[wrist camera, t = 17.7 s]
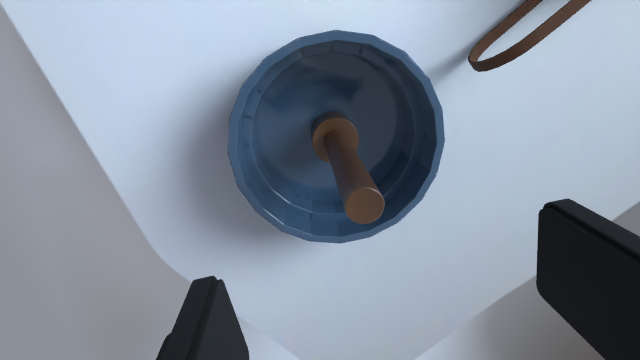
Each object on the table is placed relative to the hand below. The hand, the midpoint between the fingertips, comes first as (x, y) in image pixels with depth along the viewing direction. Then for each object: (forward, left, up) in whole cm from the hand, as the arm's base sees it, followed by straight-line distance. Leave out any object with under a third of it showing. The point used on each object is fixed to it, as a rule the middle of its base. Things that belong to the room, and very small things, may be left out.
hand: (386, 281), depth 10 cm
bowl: (0, 0, -21) cm, 21 cm away
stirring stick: (0, 0, -21) cm, 21 cm away
